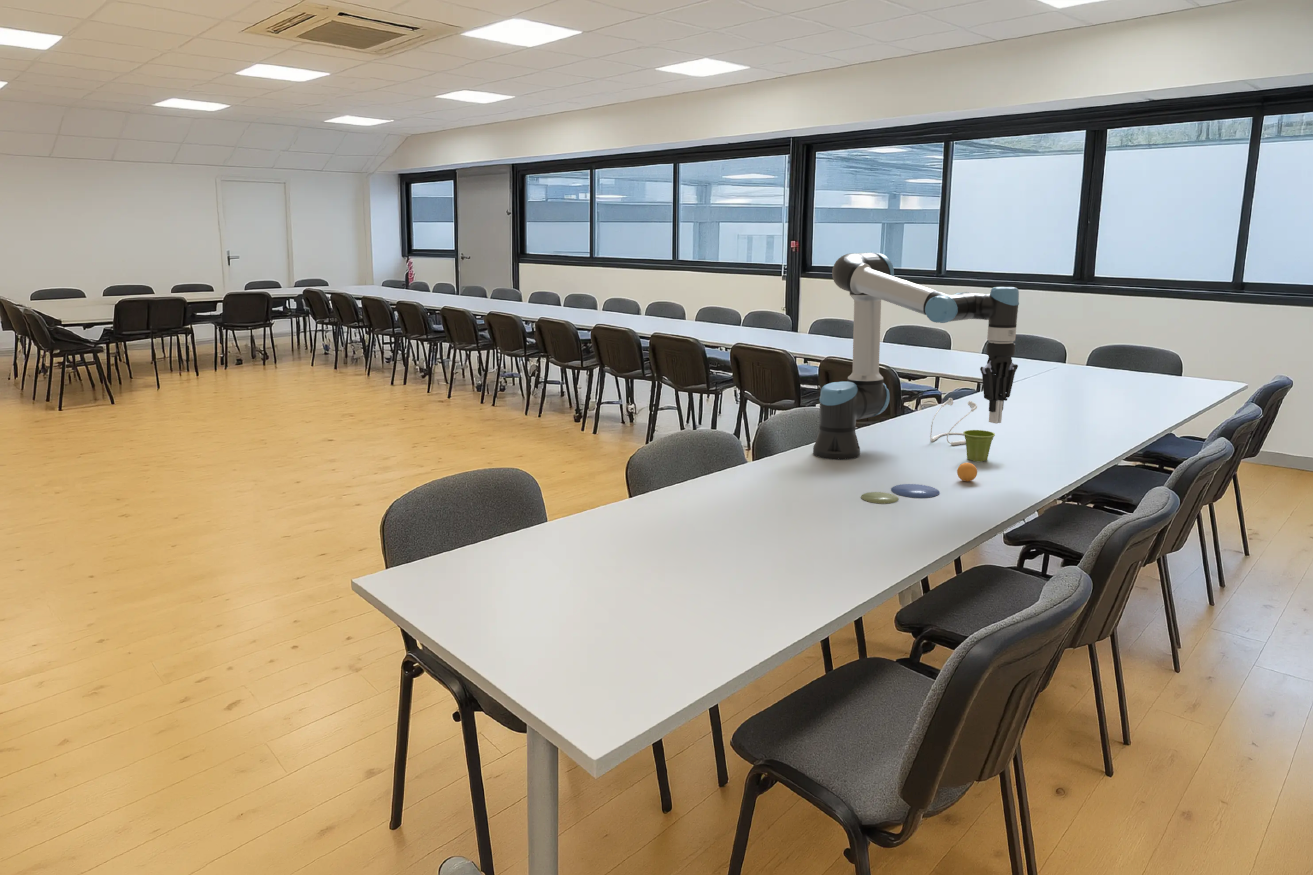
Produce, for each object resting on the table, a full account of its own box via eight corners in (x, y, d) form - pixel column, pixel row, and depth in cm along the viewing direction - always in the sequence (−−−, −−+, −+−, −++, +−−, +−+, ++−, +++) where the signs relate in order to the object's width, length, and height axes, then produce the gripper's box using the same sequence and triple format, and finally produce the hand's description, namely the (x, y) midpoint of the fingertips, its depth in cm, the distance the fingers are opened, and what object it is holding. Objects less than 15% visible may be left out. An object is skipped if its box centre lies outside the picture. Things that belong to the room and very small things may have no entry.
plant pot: (995, 463, 267) (997, 436, 265) (963, 462, 269) (965, 435, 267) (990, 456, 276) (992, 430, 274) (959, 455, 278) (961, 429, 276)
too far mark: (853, 496, 236) (853, 495, 236) (881, 490, 240) (881, 490, 240) (878, 505, 227) (878, 504, 227) (906, 500, 232) (906, 499, 232)
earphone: (918, 431, 295) (942, 393, 301) (933, 461, 305) (956, 424, 311) (954, 437, 285) (978, 398, 291) (968, 468, 295) (991, 429, 301)
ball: (952, 480, 250) (953, 462, 248) (965, 477, 252) (967, 459, 251) (967, 484, 245) (968, 466, 244) (980, 482, 247) (982, 463, 246)
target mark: (881, 488, 242) (881, 488, 242) (915, 482, 248) (915, 481, 248) (914, 500, 231) (914, 499, 231) (949, 493, 237) (949, 492, 237)
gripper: (994, 344, 238) (988, 427, 243) (1028, 341, 244) (1021, 422, 249) (973, 342, 244) (968, 422, 250) (1007, 339, 250) (1000, 417, 256)
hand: (994, 422), depth 249 cm, fingers closed
